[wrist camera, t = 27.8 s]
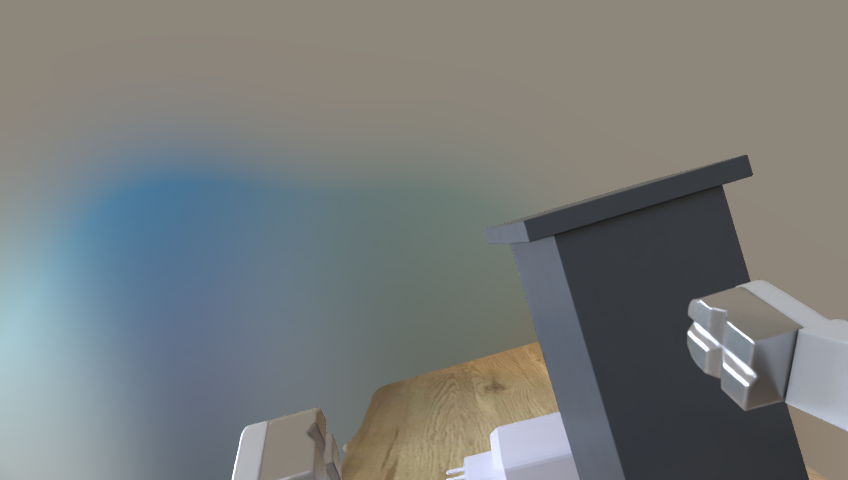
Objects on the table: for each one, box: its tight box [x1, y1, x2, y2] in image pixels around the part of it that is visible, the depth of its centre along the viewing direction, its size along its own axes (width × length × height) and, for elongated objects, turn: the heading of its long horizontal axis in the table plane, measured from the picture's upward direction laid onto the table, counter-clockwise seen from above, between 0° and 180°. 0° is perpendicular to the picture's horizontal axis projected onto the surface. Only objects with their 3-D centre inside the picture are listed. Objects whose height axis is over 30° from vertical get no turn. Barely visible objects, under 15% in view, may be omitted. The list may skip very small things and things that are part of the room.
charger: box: [446, 411, 580, 480], centre depth 49 cm, size 5×9×15 cm
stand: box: [484, 155, 809, 480], centre depth 31 cm, size 11×13×26 cm
